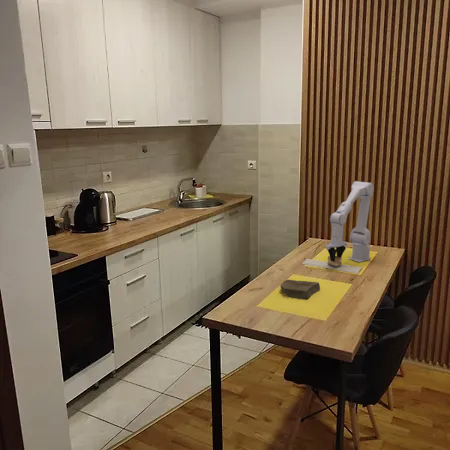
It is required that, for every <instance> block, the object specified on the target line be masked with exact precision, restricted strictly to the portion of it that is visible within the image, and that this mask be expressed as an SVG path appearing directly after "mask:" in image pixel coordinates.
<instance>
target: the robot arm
mask: <svg viewBox="0 0 450 450" xmlns="http://www.w3.org/2000/svg"><path fill="white" fill-rule="evenodd" d="M374 188H375V186H374V185H373V183H372V182H366V181H358V180H354V181H353V182H352V185H351V189H350V190H351V192H350V193H349V195H347V196H348V197H347V198H346V199H345V201H342V202H341V203H340V205H339V206H338V208H337V210H336V211H334V212H333V213H331V214H330V217H329V221H330V226H331V237H330V238H331V239H330V242H329V243H328V244H325V246H324V249H325V250H326V251H327V252H328V254H329V255H328V256H330V259H331V261H333V262H334V261H335V256H337V257H340V258H342V256H343V254H344V252H345V250H346V248H347V247H348V244H349V242H348V241H345V240H344V239H343V238H344V225H345V224H346V222H347V218H348V215H349V213H350V212H351V210H352V208H353V204H354V203H355V201H356V200H357V199H358V198H359V200H360V201H359V207H358V215H357V221H356V226H355V227H354V228H352V230H351V232H350V235H349V239H350V240H349V241H350V242H351V244H352V251H351V252H352V254H351V257H348V259H349V260H351V261H355V262H357V263H362V262H366V261H369V260H371V258H370V252H371V248H370V245H369V244H370V242H371V231H370V230H369V229H368V228H367V225H368V218H369V213H370V212H369V211H370V205H371V200H372V199H371V198H373V196H374V195H373V194H374ZM346 246H347V247H346Z"/></svg>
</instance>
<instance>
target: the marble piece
mask: <svg viewBox="0 0 450 450" xmlns="http://www.w3.org/2000/svg"><path fill="white" fill-rule="evenodd" d="M280 290H281V292H282V293H283V294H284V295H286V296H287V297H288V298H292V299H293V298H294V299H299V300H306V299H310V298H311V297H312V296H313V295H314V294H316V293H318V292H319V291H320V290H321V286H320V283H319V282H317V281H310V280H309V281H307V280H294V279H285V280H283V282H282V283H281V284H280Z"/></svg>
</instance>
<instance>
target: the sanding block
mask: <svg viewBox="0 0 450 450" xmlns="http://www.w3.org/2000/svg"><path fill="white" fill-rule="evenodd" d="M342 259H343V258H342V257H341V258H340V257H337V255H335V261H334V262H333V261H331V259H330V255H328V256H327V262H328V265H331V266H333V267H340V266H341V264H342V261H343V260H342Z"/></svg>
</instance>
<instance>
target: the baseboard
mask: <svg viewBox="0 0 450 450" xmlns="http://www.w3.org/2000/svg"><path fill="white" fill-rule="evenodd" d="M301 264H302V265H303V264H304V266H309V265H310V267H315V266H316V267H315V268H321V267H322V268H321V269H326V268H328V269H327V270H332V269H333V270H334V271H338V270H339V272H345V273H349V274H350V273H351V274H355V275H356V274H357V275H359V273H360V272H361V271H362V270H363V267H361V266H353V265H348V264H342V263H341V266H340V267H333V266H331V265H328V261H325V260H317V259H311V258H303V261H302V262H301V263H300V265H301ZM333 270H332V271H333Z"/></svg>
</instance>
